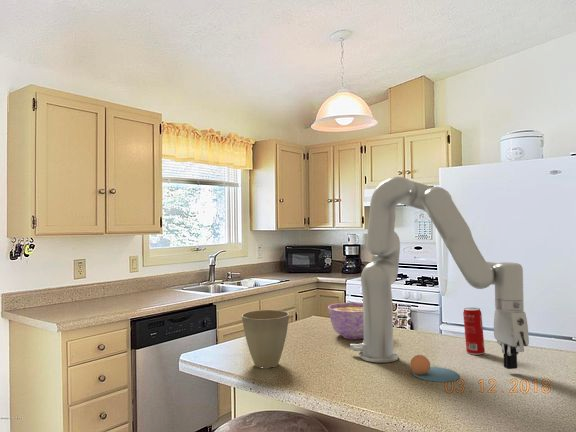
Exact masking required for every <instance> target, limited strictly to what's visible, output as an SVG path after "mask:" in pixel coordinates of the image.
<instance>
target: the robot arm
mask: <svg viewBox="0 0 576 432" xmlns="http://www.w3.org/2000/svg"><path fill="white" fill-rule="evenodd" d="M398 204H400V205H404V206H408V207H411V208H415V209H419V210H420V211H421V210H422V211H424V212H426V214H427V215H428V217H429V218H430V220H431V223H433V225H434V227H435V229H436V230H437V232H438V234H439V235H440V237H441V238H442V240H443V243H444V245H445V247H446V249H448V252H449V253H450V255H451V257H452V259H453V261H454V263H455V264H456V265H457V267H458V269H459V271H460V272H461V274H462V276H463V277H464V279H465V281H466V282H467V284H469V286H471V287H472V288H474V289H479V290H483V289H486V288H489V287H490V286H491V285H492V286H493V285H494V316H493V337H494V339H495V340H496V343H497V344H498V345H499V346H500V347H501V352H502V354H503V368H504V369H506V370H515V369H517V368H518V356H519V353H524V352H525V347H528V346H529V344H530V341H529V340H530V339H529V338H530V337H529V334H530V333H529V325H528V318H527V315H526V312H525V309H524V306H525V305H524V270H523V266H522V264H520V263H519V262H518V263H516V262H490V261H486V259H485V258H484V256H483V254H482V252H481V251H480V249H479V247H478V246H477V244H476V242H475V240H474V238H473V235H472V232H471V228H470V227H469V225H468V223H467V222H466V220H465V219H464V217H463V216H462V214H461V212H460V211H459V209H458V207H457V206H456V204H455V203H454V201H453V198H452V195H451V194H450V192H449V191H448V190H447V189H445V188H444V187H439V186H431V185H427V184H424V183H420V182H417V181H414V180H410V179H408V178H406V177H403V176H393V177H389V178H388V179H385V180H384V181H382V182H380V183H379V184H378V185H377V186H376V188H375V189H374V191H373V192H372V195H371V198H370V204H369V214H368V215H369V216H368V224H367V235H366V244H365V245H366V248H367V251H368V253H369V254H370V255H371V262H369V263H367V264H366V265H365V266H364V267H363V269H362V271H361V276H360V284H361V291H362V303H363V329H364V338H363V340H362V343H361V342H360V343H358V344H357V343H350V344H349V349H350V350H353V352H359V353H358V356H359V358H360V359H361V360H363V361H366V362H371V363H377V364H378V363H379V364H381V363H392V362H395V361H397V360H398V359H399V354H398V353H397V352H396V351H394V317H393V315H394V313H393V312H394V311H393V294H392V285H393V284H394V283H395V282H396V280H397V278H398V274H399V266H400V265H399V263H400V255H401V254H400V253H401V252H400V251H401V241H400V240H401V239H400V237H399V234H397V232H396V231H395V226H396V225H395V223H396V209H397V206H398Z"/></svg>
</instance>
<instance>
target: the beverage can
mask: <svg viewBox="0 0 576 432" xmlns="http://www.w3.org/2000/svg"><path fill="white" fill-rule="evenodd" d="M462 315H463V326H464V337H465V348H466V349H465V350H466V353H468V354H469V355H472V356H473V355H474V356H475V355H477V356H478V355H479V356H481V355H484V354H485V352H486V349H485V339H484V327H483V318H482V317H483V315H482V311H481V308H479V307H465V308H463V314H462Z"/></svg>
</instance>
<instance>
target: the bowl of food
mask: <svg viewBox="0 0 576 432" xmlns="http://www.w3.org/2000/svg"><path fill="white" fill-rule="evenodd" d="M327 308H328V310H327V311H328V313H329V319H330V323H331V326H332V328H333V330H334V332H335V333H337V334H338V335H340V336H343V338H344V339H349V340H361V338H362V339H364V329H363V302H339V303H332V304H329V305H328V306H327Z"/></svg>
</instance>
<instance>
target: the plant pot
mask: <svg viewBox="0 0 576 432" xmlns="http://www.w3.org/2000/svg"><path fill="white" fill-rule="evenodd" d="M289 318H290V313H289V312H288V311H284V310H278V309H260V310H251V311H247V312H244V313H242V314H241V319H242V326H243V330H244V331H243V332H244V337H245V340H246V343H247V348H248V350H249V353H250V356H251V358H252V361H253V364H254V366H255V367H256V366H258V367H263V368H262V369H270V368H269V367H273V368H275V366H276V367H277V366H279V363H280V360H281V357H282V354H283V350H284V348H285V342H286V338H287V333H288V326H289V320H290V319H289ZM258 367H257V368H258Z"/></svg>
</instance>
